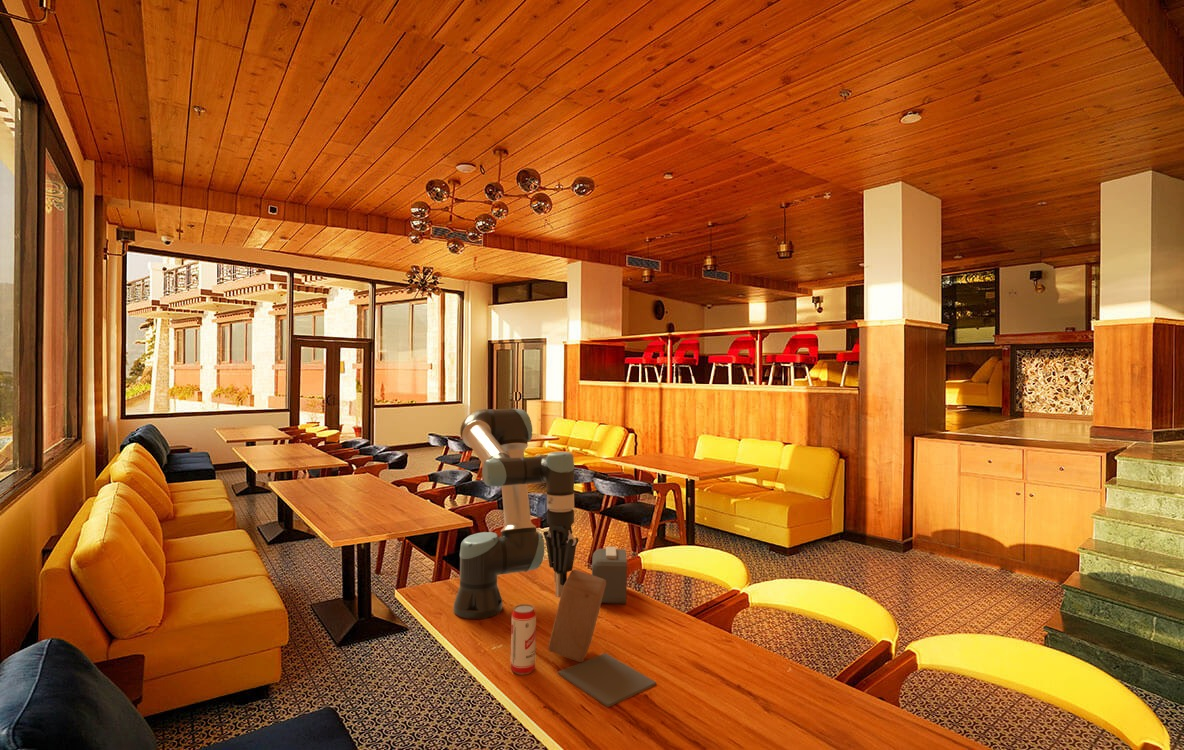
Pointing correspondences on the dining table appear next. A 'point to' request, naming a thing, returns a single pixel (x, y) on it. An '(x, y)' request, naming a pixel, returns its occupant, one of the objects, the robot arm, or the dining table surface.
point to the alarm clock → (611, 573)
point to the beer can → (523, 639)
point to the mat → (606, 679)
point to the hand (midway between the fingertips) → (560, 595)
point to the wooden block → (577, 615)
